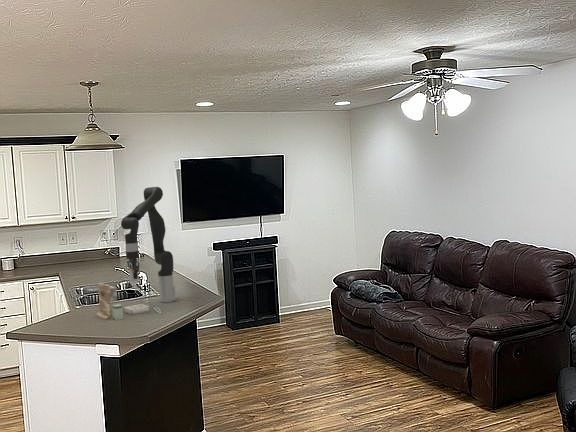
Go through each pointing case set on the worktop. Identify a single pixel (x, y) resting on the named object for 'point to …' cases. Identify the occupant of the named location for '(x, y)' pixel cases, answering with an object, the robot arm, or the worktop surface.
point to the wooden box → (106, 300)
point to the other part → (117, 312)
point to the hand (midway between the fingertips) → (134, 278)
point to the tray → (136, 309)
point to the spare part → (132, 276)
